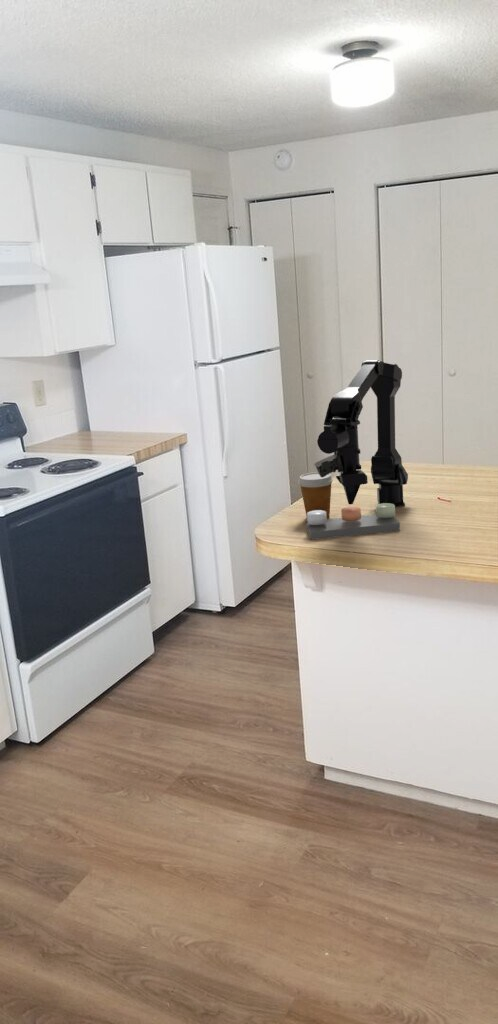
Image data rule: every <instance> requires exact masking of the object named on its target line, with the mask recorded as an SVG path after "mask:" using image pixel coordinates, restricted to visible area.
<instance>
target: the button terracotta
mask: <svg viewBox="0 0 498 1024" xmlns="http://www.w3.org/2000/svg"><path fill="white" fill-rule="evenodd" d="M361 511H362V509H361V507H359V506H347V507H343V508H341V510H340V512H341V518H342V520H343V521H357V520H360V519H361V516H362V512H361Z"/></svg>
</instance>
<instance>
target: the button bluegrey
mask: <svg viewBox="0 0 498 1024" xmlns="http://www.w3.org/2000/svg"><path fill="white" fill-rule="evenodd" d="M306 519H307V521H308V524H311V525H320V524H324V523H326V522H327V515H326V511H323V510H314V511H310V512H308V513H307V516H306Z"/></svg>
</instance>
